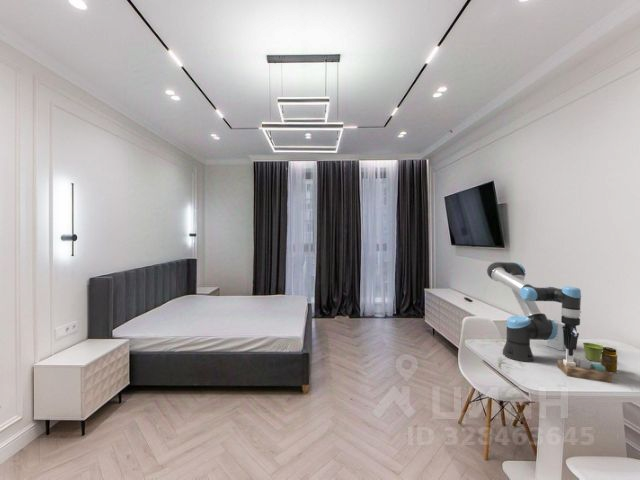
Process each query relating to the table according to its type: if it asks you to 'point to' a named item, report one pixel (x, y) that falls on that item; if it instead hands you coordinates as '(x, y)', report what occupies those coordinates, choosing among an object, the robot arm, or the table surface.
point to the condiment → (609, 360)
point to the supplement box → (557, 337)
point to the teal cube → (598, 367)
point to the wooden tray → (585, 372)
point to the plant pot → (593, 351)
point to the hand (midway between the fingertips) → (569, 360)
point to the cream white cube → (569, 363)
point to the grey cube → (583, 363)
